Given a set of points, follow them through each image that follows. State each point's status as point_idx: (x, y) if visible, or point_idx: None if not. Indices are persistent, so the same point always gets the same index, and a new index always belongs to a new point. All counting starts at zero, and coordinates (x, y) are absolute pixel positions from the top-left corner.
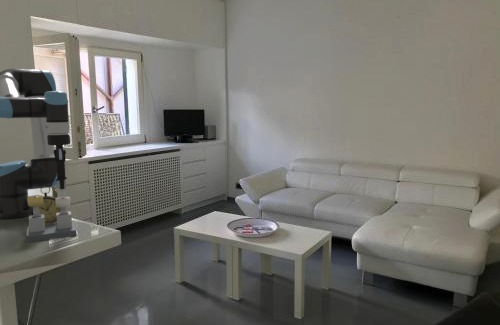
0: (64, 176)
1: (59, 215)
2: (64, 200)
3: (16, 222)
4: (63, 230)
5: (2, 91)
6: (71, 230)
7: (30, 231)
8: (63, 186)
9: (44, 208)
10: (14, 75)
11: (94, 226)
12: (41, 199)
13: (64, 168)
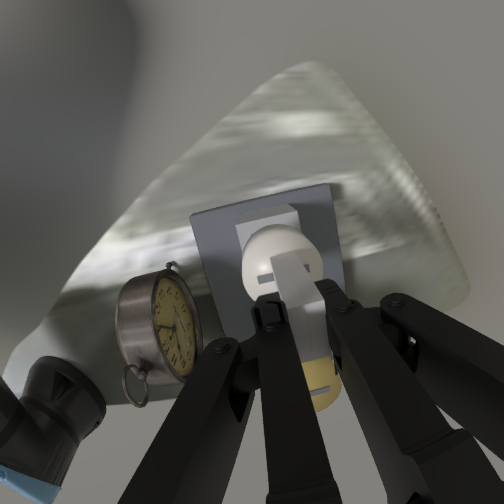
0: (419, 308)
1: None
2: (318, 254)
3: (132, 382)
4: (321, 227)
5: None
6: (329, 199)
7: None
8: (338, 290)
9: (176, 340)
10: None
11: (222, 134)
12: (323, 360)
13: (485, 341)
